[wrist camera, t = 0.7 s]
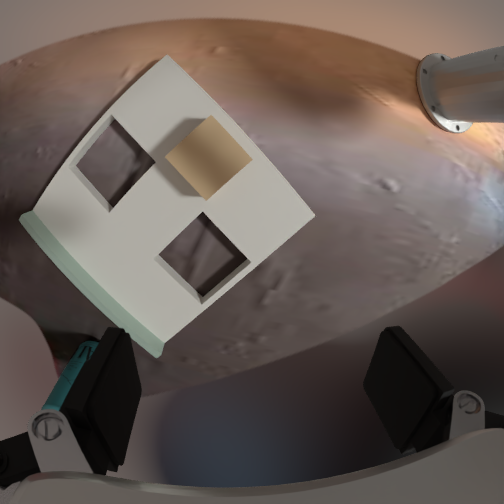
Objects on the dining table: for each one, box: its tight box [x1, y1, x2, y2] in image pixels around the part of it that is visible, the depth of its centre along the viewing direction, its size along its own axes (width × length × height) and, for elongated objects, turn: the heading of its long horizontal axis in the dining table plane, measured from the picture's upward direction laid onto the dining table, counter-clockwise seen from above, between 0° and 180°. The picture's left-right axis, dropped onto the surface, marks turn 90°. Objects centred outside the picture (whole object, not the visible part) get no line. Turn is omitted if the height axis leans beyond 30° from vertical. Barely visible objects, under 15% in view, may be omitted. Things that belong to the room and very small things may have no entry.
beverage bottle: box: [41, 341, 98, 411], centre depth 28 cm, size 6×7×20 cm
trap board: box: [19, 55, 315, 358], centre depth 30 cm, size 26×25×4 cm
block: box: [165, 115, 253, 201], centre depth 28 cm, size 6×6×3 cm
